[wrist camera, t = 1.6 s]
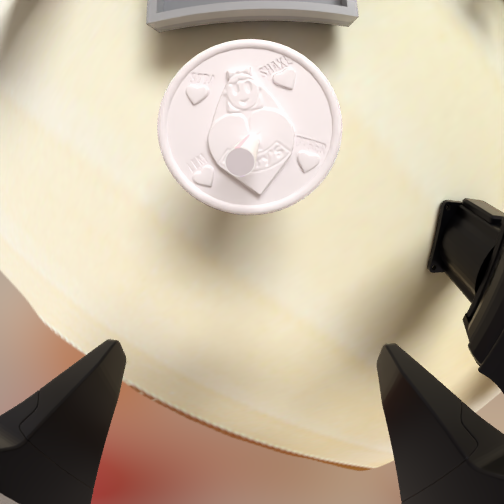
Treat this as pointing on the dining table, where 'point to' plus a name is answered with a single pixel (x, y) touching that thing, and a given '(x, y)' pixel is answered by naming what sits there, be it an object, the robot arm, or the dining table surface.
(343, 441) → the dining table surface
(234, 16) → the grey tray
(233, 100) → the smoothie
